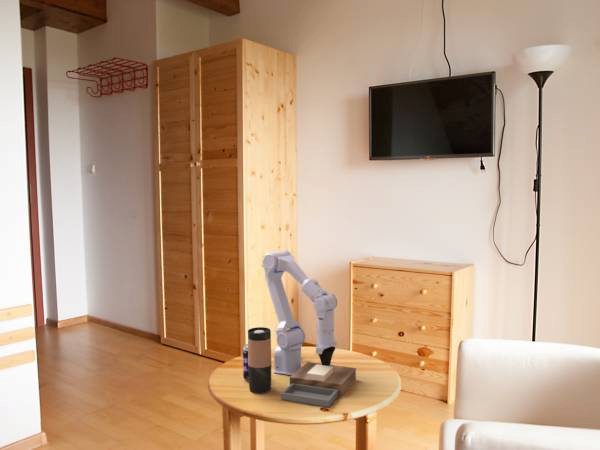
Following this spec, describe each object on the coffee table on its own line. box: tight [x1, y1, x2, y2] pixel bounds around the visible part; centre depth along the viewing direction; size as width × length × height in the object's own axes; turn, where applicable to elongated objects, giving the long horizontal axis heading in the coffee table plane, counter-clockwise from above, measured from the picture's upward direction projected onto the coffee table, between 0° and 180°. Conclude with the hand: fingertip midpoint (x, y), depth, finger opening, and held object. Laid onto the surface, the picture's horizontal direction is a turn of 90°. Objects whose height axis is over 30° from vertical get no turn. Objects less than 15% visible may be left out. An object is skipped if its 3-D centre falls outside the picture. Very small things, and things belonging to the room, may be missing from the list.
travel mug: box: [247, 326, 272, 395], centre depth 169 cm, size 8×8×20 cm
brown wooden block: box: [289, 361, 357, 398], centre depth 173 cm, size 18×16×4 cm
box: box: [280, 383, 339, 409], centre depth 162 cm, size 16×9×2 cm, turn 67°
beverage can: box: [242, 343, 249, 382], centre depth 178 cm, size 6×6×12 cm
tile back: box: [312, 364, 333, 376], centre depth 172 cm, size 6×4×2 cm
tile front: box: [307, 369, 329, 381], centre depth 168 cm, size 6×4×2 cm
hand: (326, 368), depth 175 cm, fingers closed
